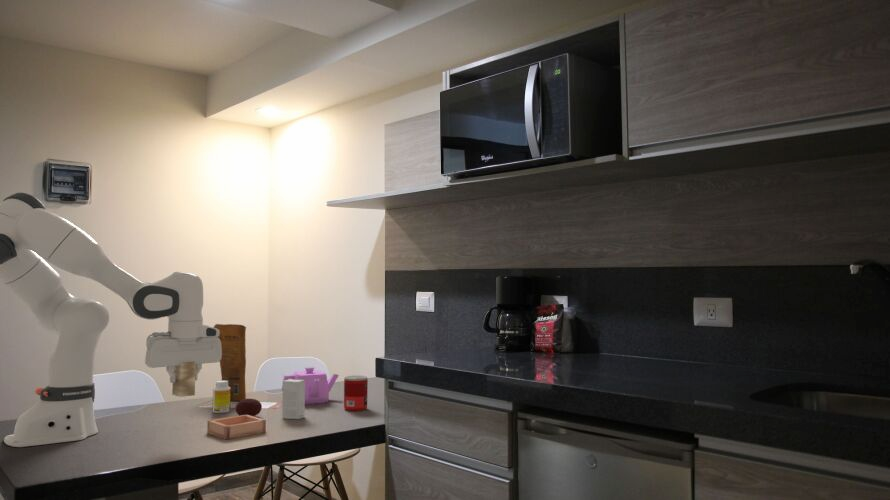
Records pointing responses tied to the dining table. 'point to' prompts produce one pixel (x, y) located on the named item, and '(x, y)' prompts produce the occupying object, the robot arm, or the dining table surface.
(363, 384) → the canned food
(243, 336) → the pancake mix bag
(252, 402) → the potato
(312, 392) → the teakettle
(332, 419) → the dining table surface
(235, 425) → the tray
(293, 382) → the skincare box
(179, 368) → the beige tall rectangular block
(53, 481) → the dining table surface
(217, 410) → the supplement bottle
